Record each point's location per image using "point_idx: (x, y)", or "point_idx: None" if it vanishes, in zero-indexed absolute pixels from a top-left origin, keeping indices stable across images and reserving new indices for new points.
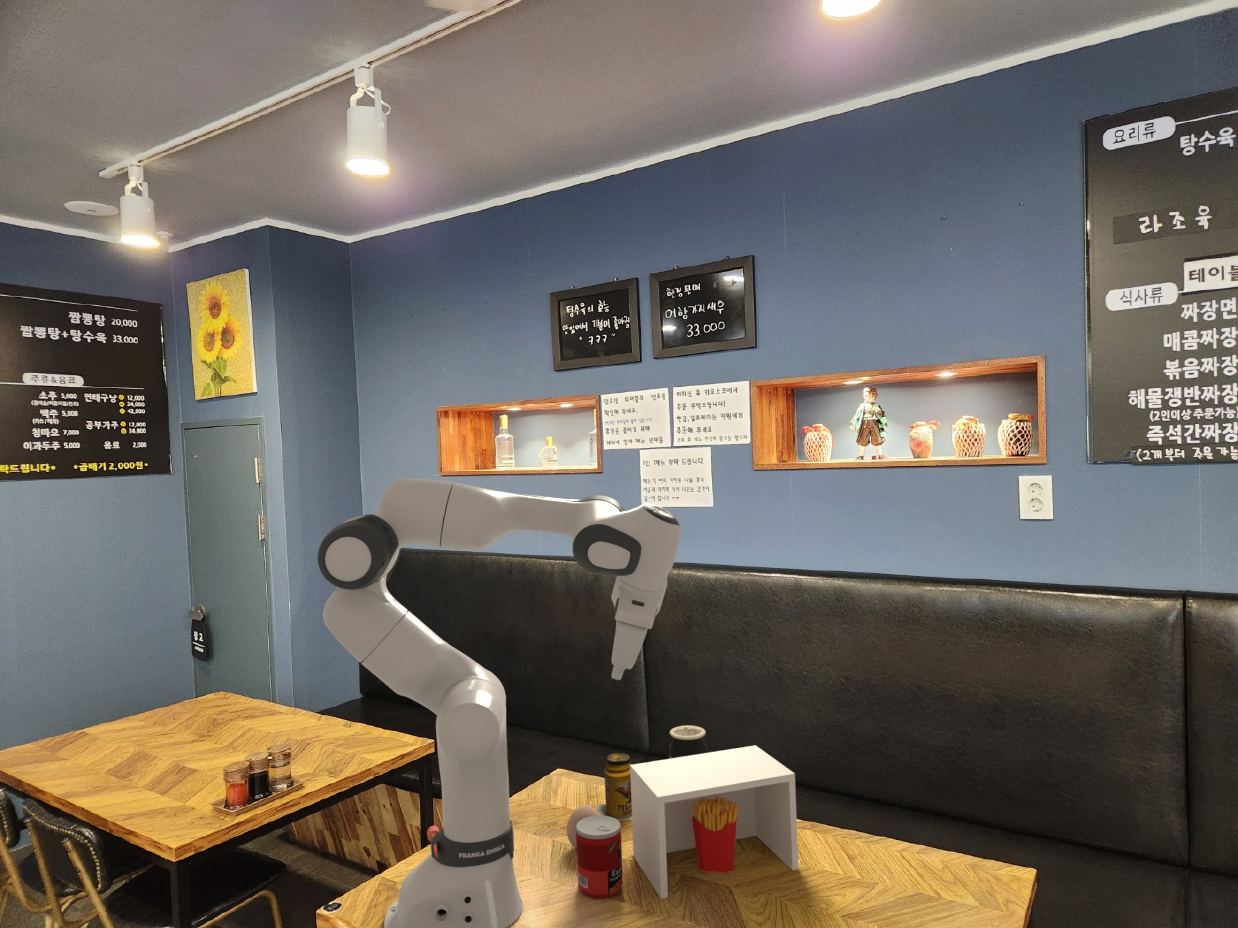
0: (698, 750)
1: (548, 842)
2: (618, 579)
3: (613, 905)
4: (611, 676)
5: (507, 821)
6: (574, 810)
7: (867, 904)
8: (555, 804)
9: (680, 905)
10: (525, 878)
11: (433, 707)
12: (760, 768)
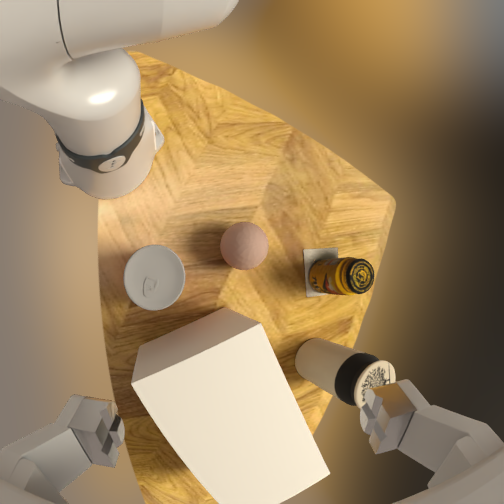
0: (346, 399)
1: (250, 201)
2: None
3: (122, 295)
4: (73, 395)
5: (83, 151)
6: (251, 229)
7: (163, 500)
8: (334, 199)
9: (129, 365)
10: (172, 189)
11: None
12: (252, 495)
